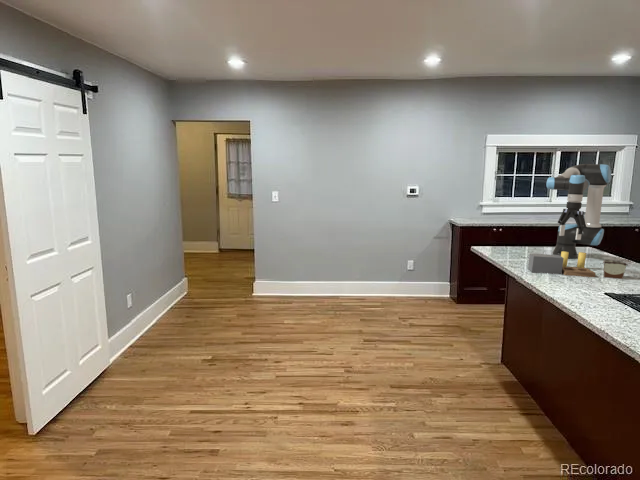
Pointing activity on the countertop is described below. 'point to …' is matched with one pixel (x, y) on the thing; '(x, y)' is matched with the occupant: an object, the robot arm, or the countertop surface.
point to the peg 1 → (565, 256)
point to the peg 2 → (581, 260)
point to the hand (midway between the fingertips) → (569, 237)
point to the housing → (545, 263)
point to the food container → (614, 268)
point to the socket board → (577, 272)
